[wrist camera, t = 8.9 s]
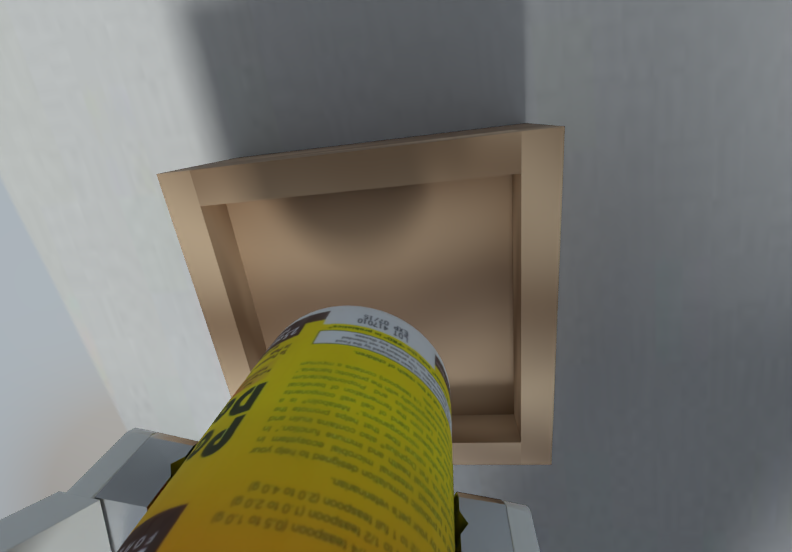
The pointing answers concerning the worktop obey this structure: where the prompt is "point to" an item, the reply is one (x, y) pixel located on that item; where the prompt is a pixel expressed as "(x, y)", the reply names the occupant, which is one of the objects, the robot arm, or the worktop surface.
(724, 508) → the worktop surface
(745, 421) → the worktop surface
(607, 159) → the worktop surface
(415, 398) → the supplement bottle
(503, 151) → the brown wooden box
